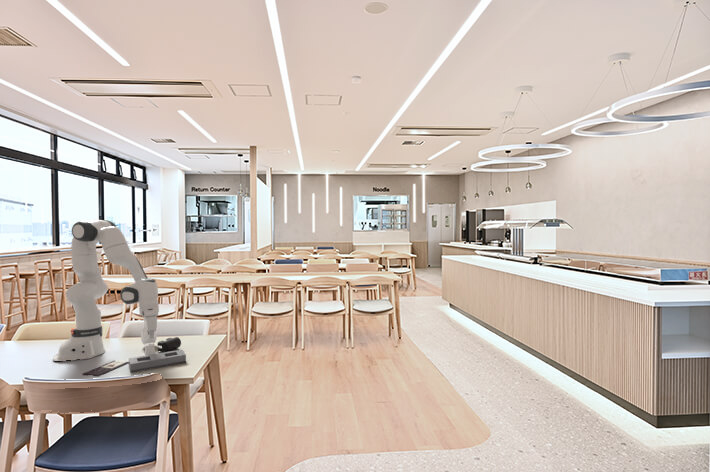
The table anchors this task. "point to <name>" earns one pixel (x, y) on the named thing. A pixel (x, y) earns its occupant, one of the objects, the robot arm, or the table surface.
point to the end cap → (169, 345)
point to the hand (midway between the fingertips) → (150, 336)
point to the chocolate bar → (106, 368)
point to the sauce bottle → (147, 336)
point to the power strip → (156, 360)
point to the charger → (149, 349)
